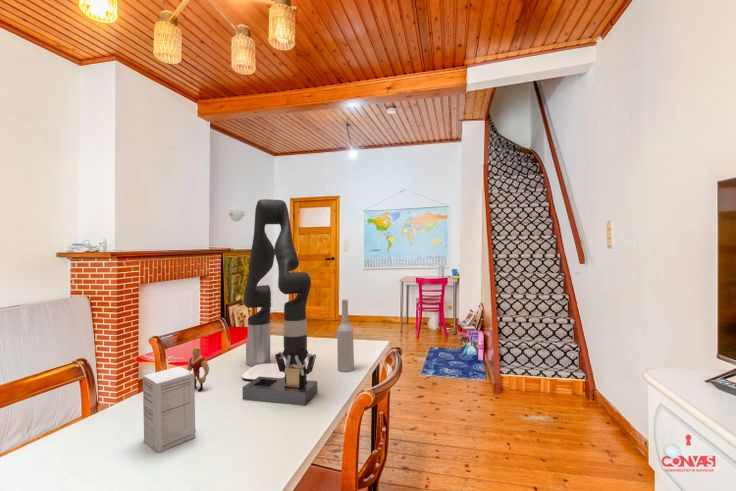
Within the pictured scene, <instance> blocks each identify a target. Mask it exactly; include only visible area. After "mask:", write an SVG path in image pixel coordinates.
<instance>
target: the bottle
mask: <svg viewBox="0 0 736 491" xmlns="http://www.w3.org/2000/svg"><path fill="white" fill-rule="evenodd" d="M340 301H341V322H340V323H341V324H340V325H339V327H338V328H337V332H336V335H337V338H336V339H337V340H336V341H337V371H339V372H340V373H342V372H343V373H348V372H353V371H354V370H355V358H354V357H355V355H354V354H355V353H354V352H355V351H354V347H355V346H354V329H353V326H352V325H351V324H350V323H349V322H350V321H349V299H341V300H340Z"/></svg>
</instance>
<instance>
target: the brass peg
mask: <svg viewBox="0 0 736 491" xmlns="http://www.w3.org/2000/svg"><path fill="white" fill-rule="evenodd" d="M300 376H301V373H300V368H298V366H297V365H295V364H293V365H291V366H290V367H289V368H286V388H288V389H302V388H303V387H304V386H305V385H304V386H303V387H301V385H300Z"/></svg>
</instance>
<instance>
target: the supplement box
mask: <svg viewBox="0 0 736 491" xmlns="http://www.w3.org/2000/svg"><path fill="white" fill-rule="evenodd" d="M195 389H196V388H195V386H194V373H193V371H192V370H191V371H189V370H187V368H184V367H182V366H176V367H171V368H167V369H164V370H160V371H156V372H152V373H149V374H146V375H145V374H144V375H143V376H142V396H143V398H142V401H143V402H142V404H143V408H142V409H143V411H142V412H143V441H144V442H145V443H146V444H147V445H148V446H149V447H150V448H151V449H153V451H155V452H156V453H161V452H162V451H165V450H167V449H170V448H173V447H175V446H178V445H179V444H182V443H185V442H187V441H189V440H192V439H193V438H196V403H195V402H196V400H195V398H196V396H195V394H196V393H195V392H196V390H195Z"/></svg>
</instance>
